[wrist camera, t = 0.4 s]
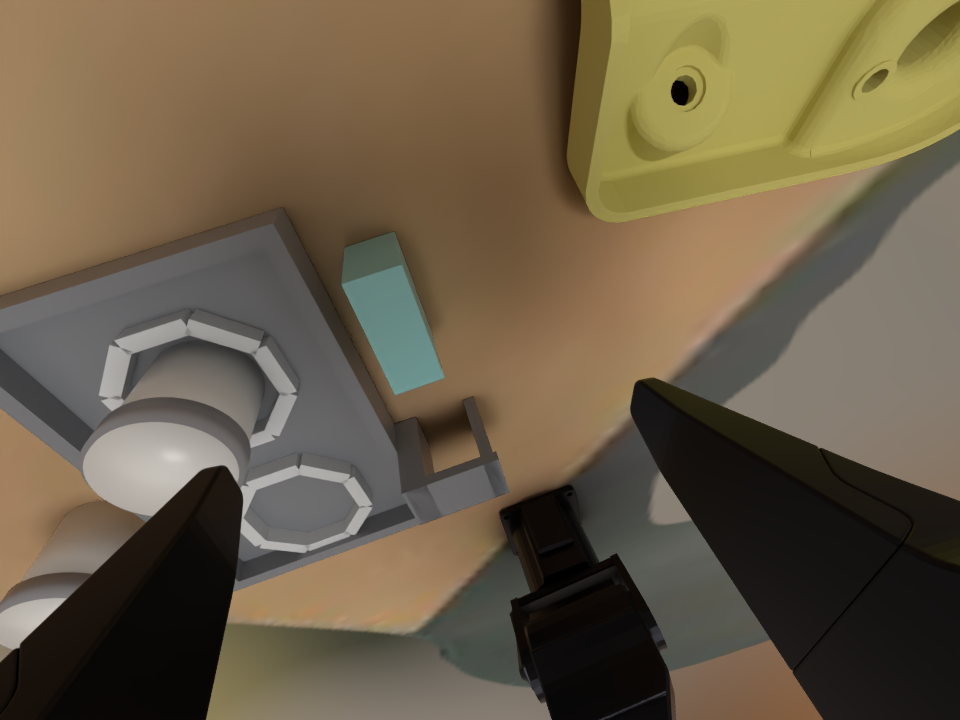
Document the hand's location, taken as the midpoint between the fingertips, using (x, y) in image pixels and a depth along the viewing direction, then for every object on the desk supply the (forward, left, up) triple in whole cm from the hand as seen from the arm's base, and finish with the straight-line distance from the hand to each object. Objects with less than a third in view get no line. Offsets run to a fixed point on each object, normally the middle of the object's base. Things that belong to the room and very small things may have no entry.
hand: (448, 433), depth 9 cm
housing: (-8, +9, -14) cm, 18 cm away
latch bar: (-3, +1, -14) cm, 14 cm away
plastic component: (+3, -18, -14) cm, 23 cm away
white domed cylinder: (-4, +11, -13) cm, 17 cm away
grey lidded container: (-12, +23, -14) cm, 29 cm away
